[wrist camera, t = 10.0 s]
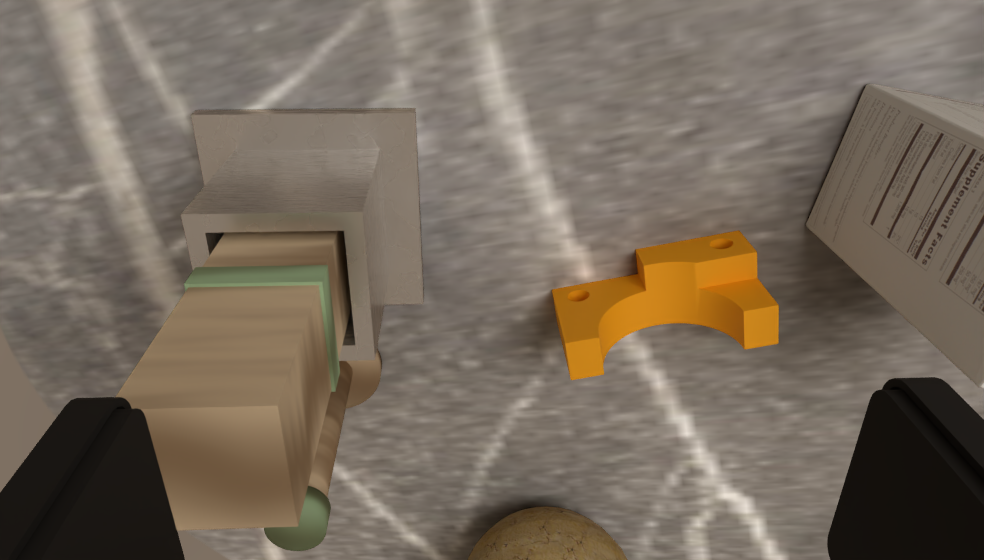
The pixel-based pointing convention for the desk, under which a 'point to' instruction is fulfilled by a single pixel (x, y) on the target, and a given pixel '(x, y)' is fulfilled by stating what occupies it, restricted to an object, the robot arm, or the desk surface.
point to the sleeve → (318, 196)
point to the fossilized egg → (546, 538)
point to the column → (246, 378)
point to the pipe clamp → (669, 299)
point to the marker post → (328, 455)
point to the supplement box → (914, 214)
